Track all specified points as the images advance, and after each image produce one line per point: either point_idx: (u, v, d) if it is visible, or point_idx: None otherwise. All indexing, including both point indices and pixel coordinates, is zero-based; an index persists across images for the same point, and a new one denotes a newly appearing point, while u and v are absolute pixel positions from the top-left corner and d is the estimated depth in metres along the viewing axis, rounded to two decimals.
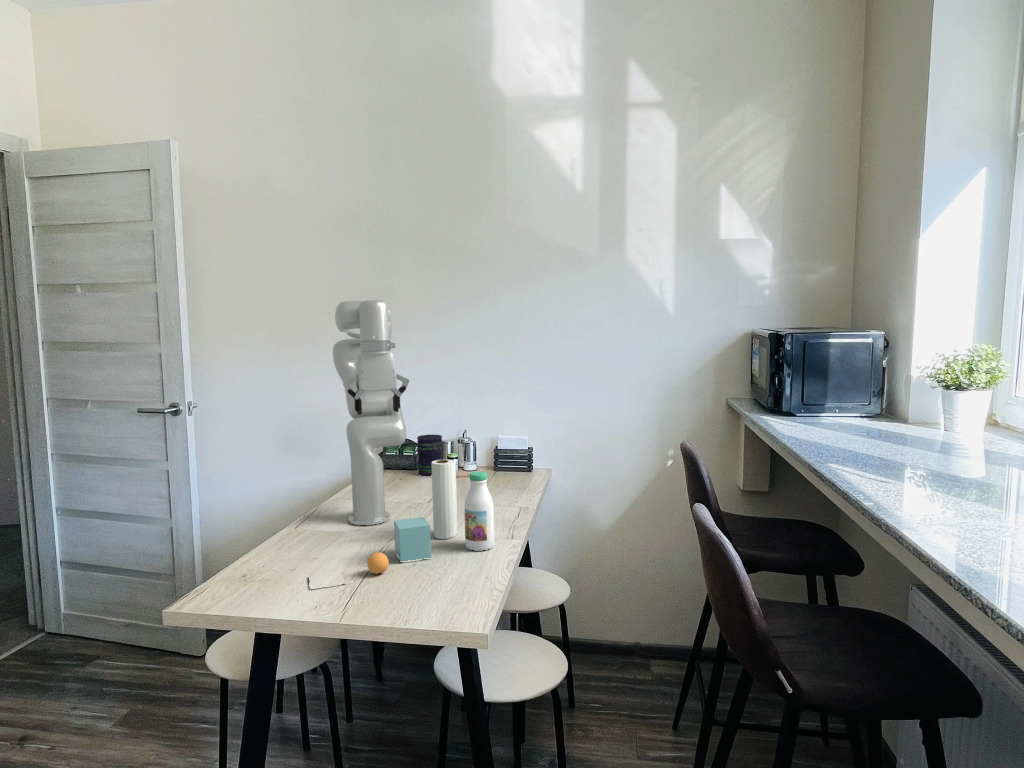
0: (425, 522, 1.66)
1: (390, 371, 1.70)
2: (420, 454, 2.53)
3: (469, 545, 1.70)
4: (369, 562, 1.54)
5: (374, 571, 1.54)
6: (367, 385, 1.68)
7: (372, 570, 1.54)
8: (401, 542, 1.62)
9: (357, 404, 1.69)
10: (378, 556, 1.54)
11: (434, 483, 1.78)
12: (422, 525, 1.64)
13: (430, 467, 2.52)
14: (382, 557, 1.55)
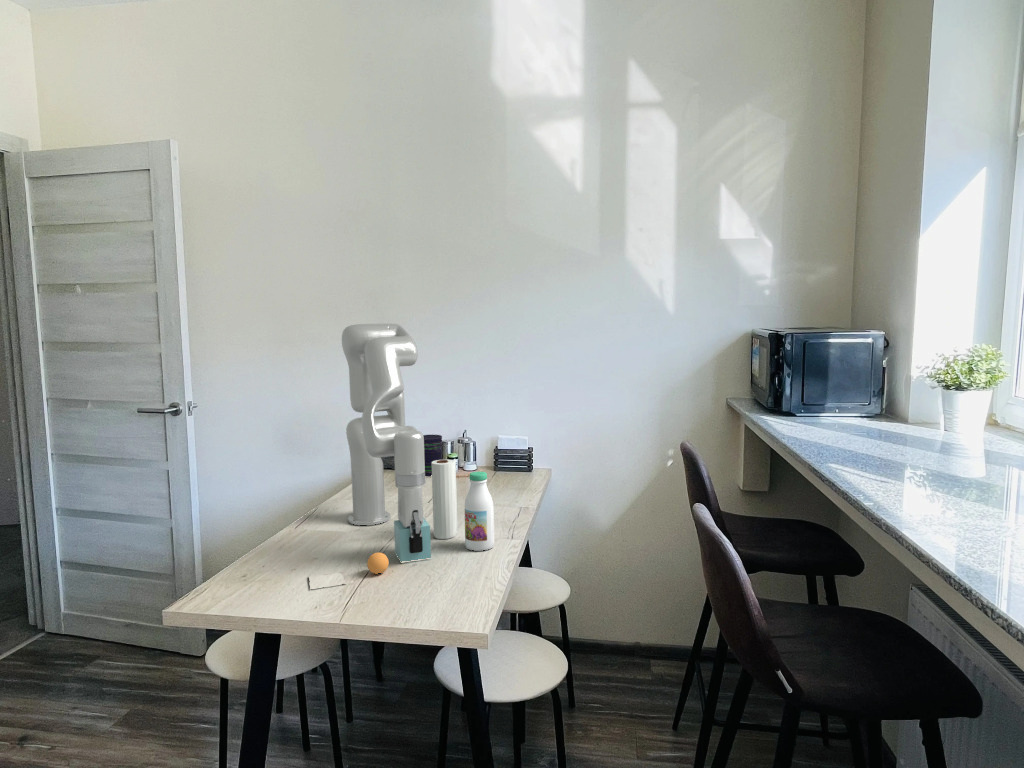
0: (425, 522, 1.66)
1: None
2: None
3: (469, 545, 1.70)
4: (369, 562, 1.54)
5: (374, 571, 1.54)
6: None
7: (372, 570, 1.54)
8: (401, 542, 1.61)
9: None
10: (378, 556, 1.54)
11: (434, 483, 1.78)
12: (422, 525, 1.64)
13: (430, 467, 2.52)
14: (382, 557, 1.55)
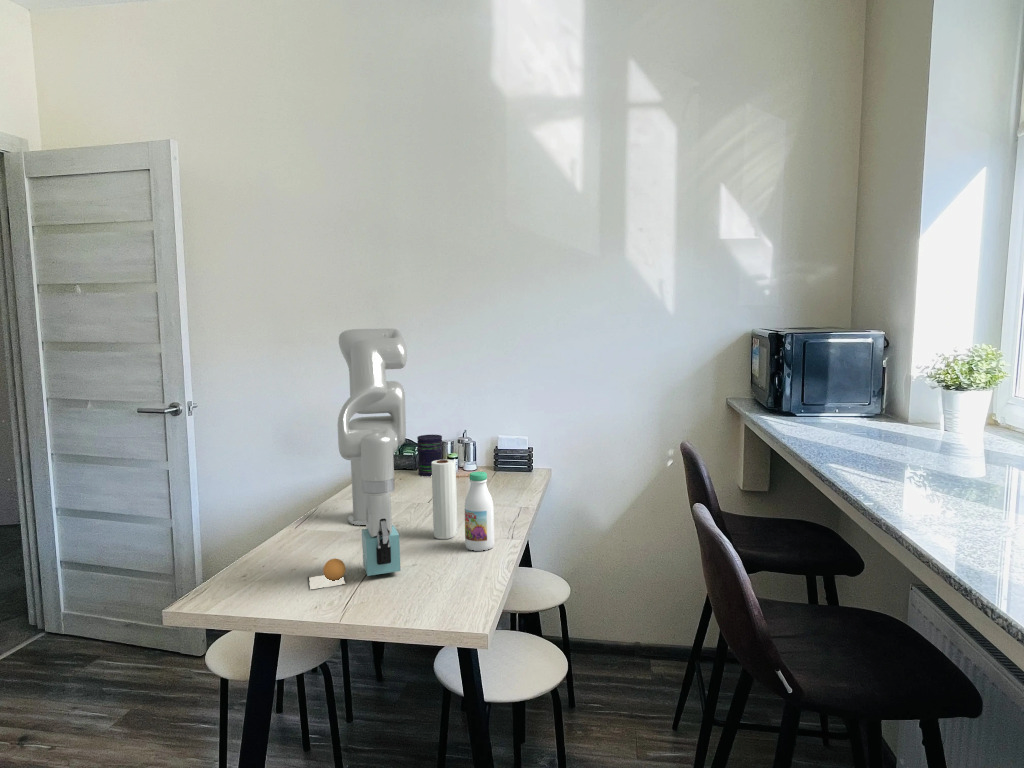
0: (394, 531, 1.55)
1: None
2: (420, 454, 2.53)
3: (469, 545, 1.70)
4: (343, 565, 1.52)
5: (334, 565, 1.50)
6: None
7: (336, 564, 1.51)
8: (368, 553, 1.51)
9: (387, 553, 1.52)
10: (342, 576, 1.52)
11: (434, 483, 1.78)
12: (391, 534, 1.53)
13: (430, 467, 2.52)
14: (338, 579, 1.51)
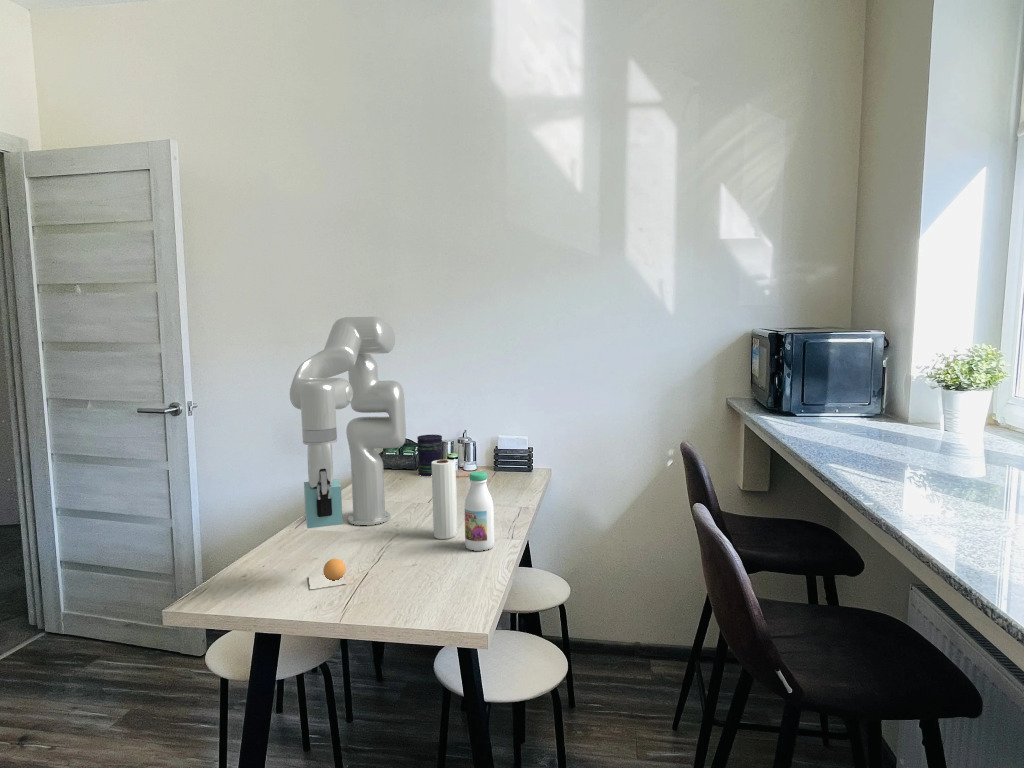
0: (337, 483, 1.50)
1: None
2: (420, 454, 2.53)
3: (469, 545, 1.70)
4: (343, 565, 1.52)
5: (334, 565, 1.50)
6: None
7: (336, 564, 1.51)
8: (307, 504, 1.45)
9: (328, 504, 1.46)
10: (342, 576, 1.52)
11: (434, 483, 1.78)
12: (332, 486, 1.47)
13: (430, 467, 2.52)
14: (338, 579, 1.51)
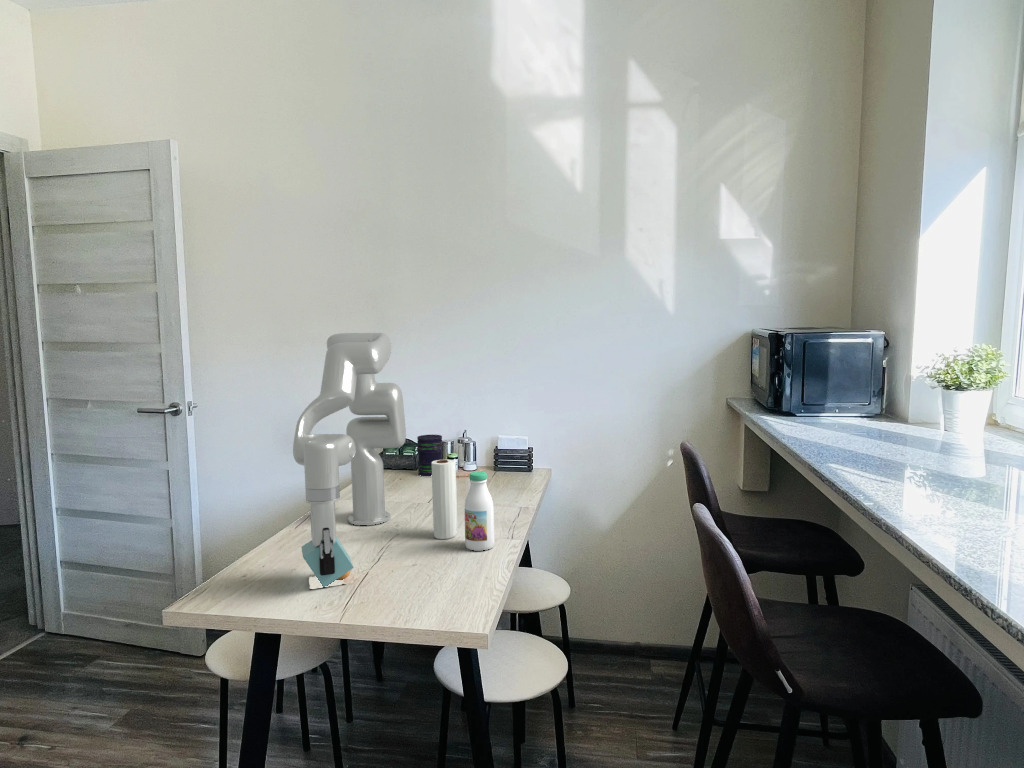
0: None
1: None
2: (420, 454, 2.53)
3: (469, 545, 1.70)
4: (350, 570, 1.52)
5: None
6: None
7: None
8: (312, 568, 1.46)
9: (331, 563, 1.47)
10: None
11: (434, 483, 1.78)
12: None
13: (430, 467, 2.52)
14: None
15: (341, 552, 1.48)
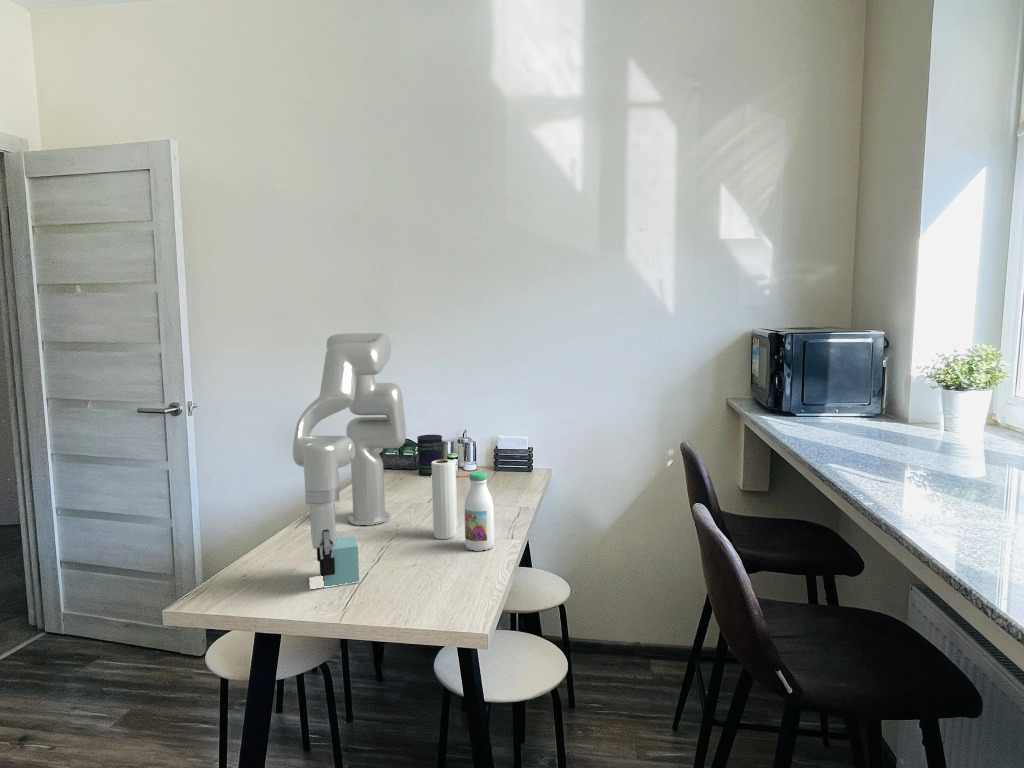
0: (353, 542, 1.52)
1: None
2: (420, 454, 2.53)
3: (469, 545, 1.70)
4: None
5: None
6: None
7: None
8: None
9: (331, 563, 1.47)
10: None
11: (434, 483, 1.78)
12: (349, 546, 1.50)
13: (430, 467, 2.52)
14: None
15: (356, 563, 1.50)
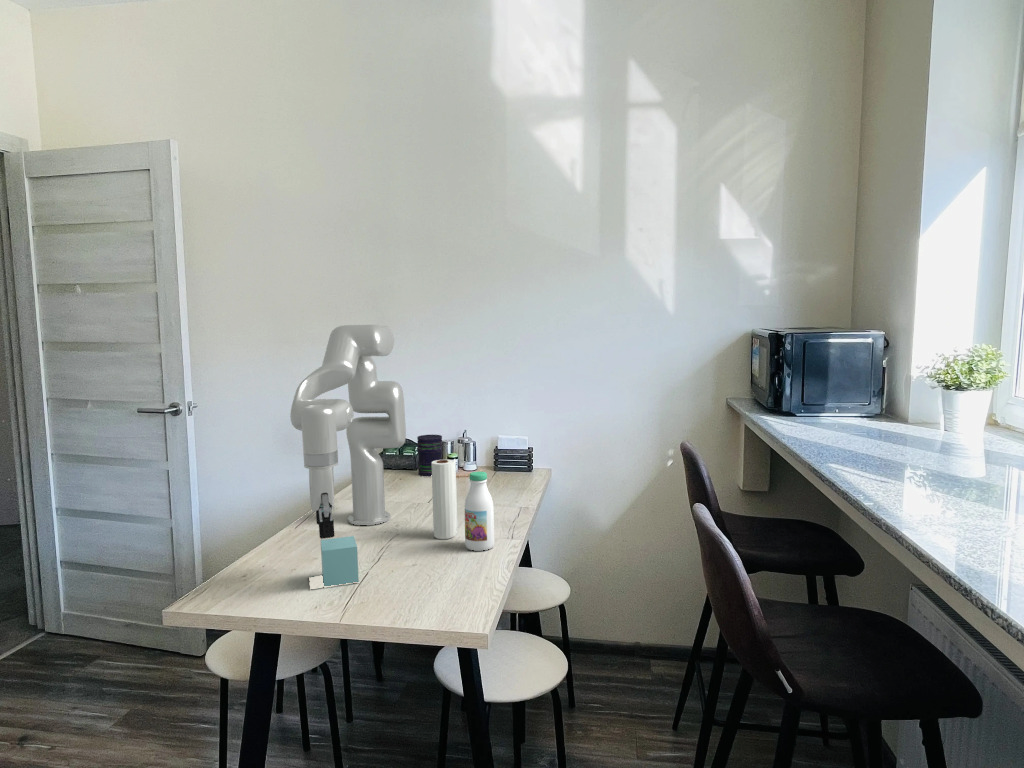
0: (353, 542, 1.52)
1: None
2: (420, 454, 2.53)
3: (469, 545, 1.70)
4: None
5: None
6: None
7: None
8: (324, 565, 1.47)
9: (330, 526, 1.47)
10: None
11: (434, 483, 1.78)
12: (348, 546, 1.49)
13: (430, 467, 2.52)
14: None
15: (356, 563, 1.50)
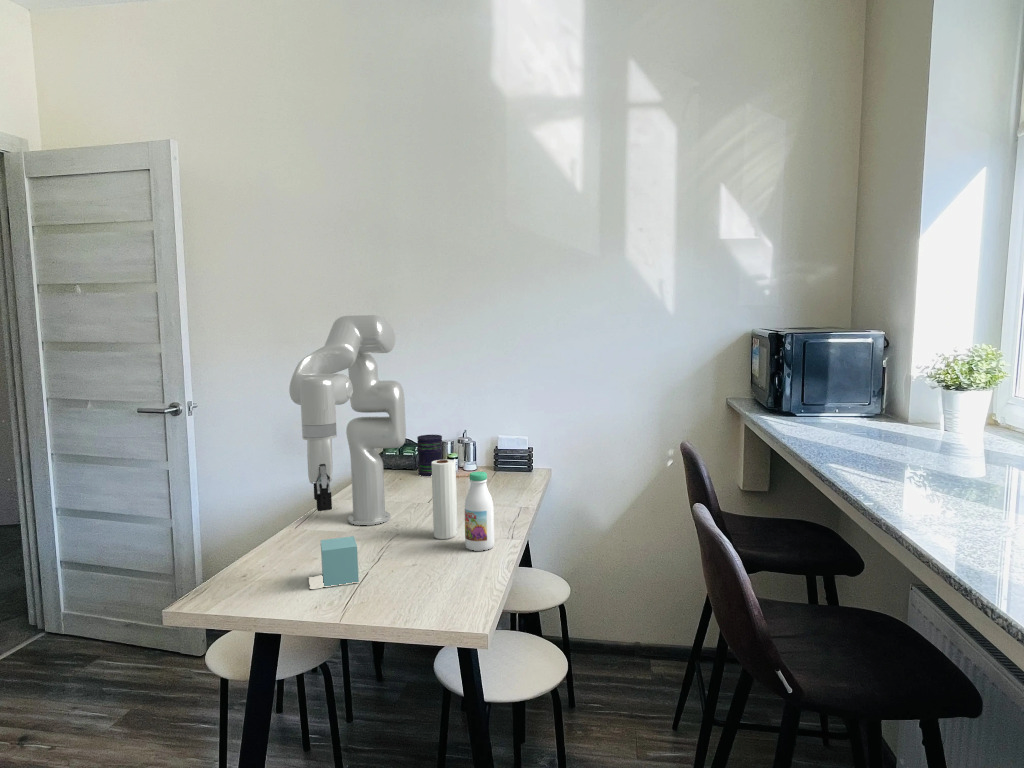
0: (353, 542, 1.52)
1: None
2: (420, 454, 2.53)
3: (469, 545, 1.70)
4: None
5: None
6: None
7: None
8: (324, 565, 1.47)
9: (327, 498, 1.45)
10: None
11: (434, 483, 1.78)
12: (348, 546, 1.49)
13: (430, 467, 2.52)
14: None
15: (356, 563, 1.50)
